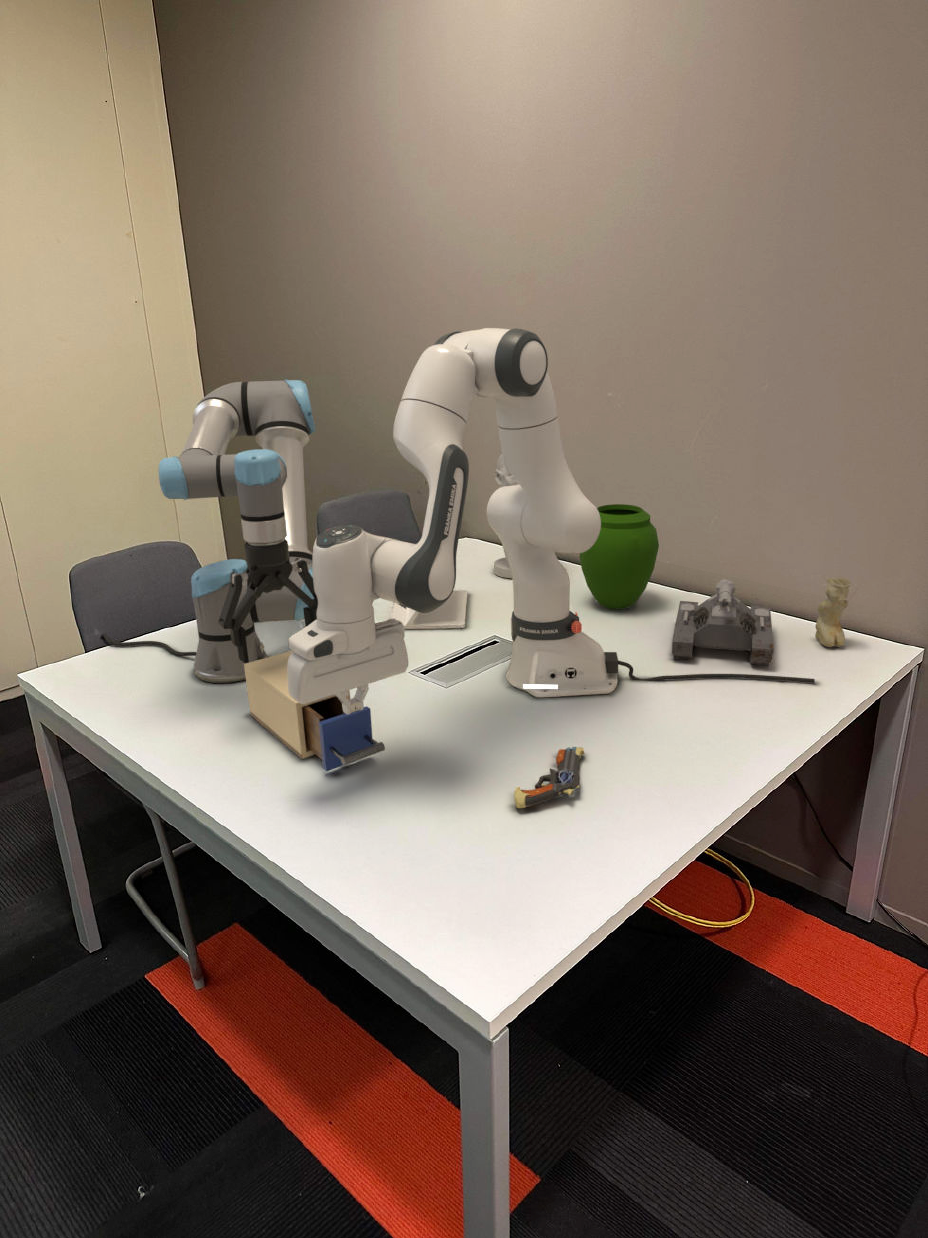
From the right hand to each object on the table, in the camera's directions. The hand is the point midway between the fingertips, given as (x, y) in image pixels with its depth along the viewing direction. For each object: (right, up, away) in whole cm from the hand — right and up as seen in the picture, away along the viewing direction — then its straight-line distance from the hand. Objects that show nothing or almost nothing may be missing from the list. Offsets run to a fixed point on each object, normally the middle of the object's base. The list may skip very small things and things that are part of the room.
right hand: (353, 711), depth 137 cm
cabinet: (-12, -5, +20) cm, 24 cm away
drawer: (-6, -7, +11) cm, 15 cm away
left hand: (-16, +9, +20) cm, 28 cm away
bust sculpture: (+35, +27, +102) cm, 111 cm away
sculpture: (+98, +9, +50) cm, 110 cm away
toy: (+75, +9, +51) cm, 91 cm away
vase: (+56, +18, +77) cm, 97 cm away
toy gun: (+32, -11, 0) cm, 34 cm away
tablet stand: (+9, +17, +77) cm, 79 cm away
